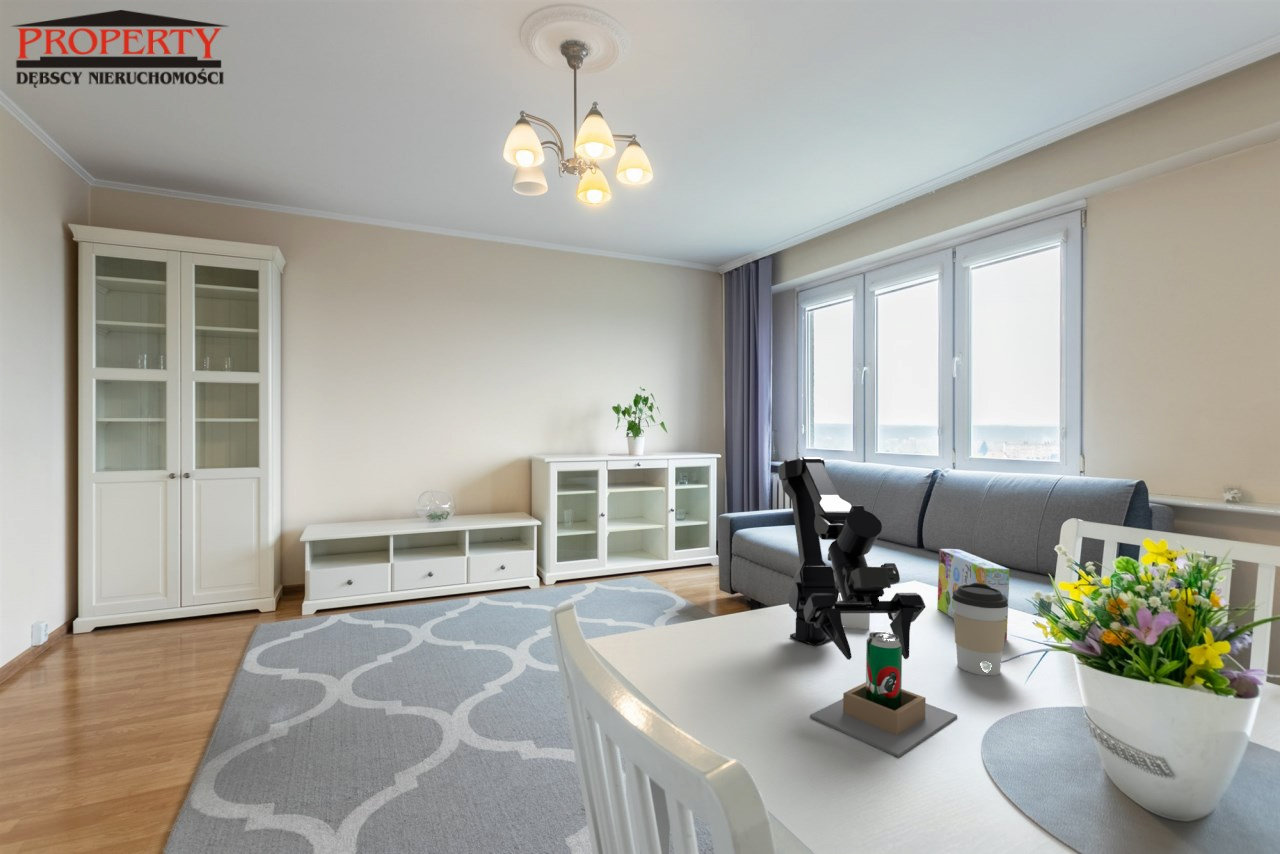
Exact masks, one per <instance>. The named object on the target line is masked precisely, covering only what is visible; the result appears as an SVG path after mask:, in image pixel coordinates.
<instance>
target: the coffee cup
mask: <svg viewBox="0 0 1280 854" xmlns="http://www.w3.org/2000/svg"><path fill="white" fill-rule="evenodd" d="M952 599H953V600H954V610H953V614H954V619H953V627H954V641H955V646H956V648H955V649H956V661H957V667H958V668H959V669H961V670H964V671H965V672H968V673H970V674H975V675H980V676H987V675H993V676H997V675H1000V673H1001V667H1002V655H1003V654H1002V653H1003V652H1004V648H1005V639H1004V638H1005V628H1006V607H1007V606H1008V607H1009V598H1008V599H1007V598H1006V597H1005V596H1003V595H1002V594H1001V592H1000V591H999V590H997V589H994V588H991V587H990V586H988V585H986V584H980V583H973V584H970V585H961V586H959V588H958V590H955V591H953V596H952ZM1007 601H1008V603H1007ZM982 661H987V662H989V663H991V664H992V667H991V670H990V671H989V672H988V673H986V672H984V671H983V670H982V668H981V666H980V663H981V662H982ZM1000 662H1001V664H1000Z"/></svg>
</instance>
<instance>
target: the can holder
mask: <svg viewBox="0 0 1280 854" xmlns="http://www.w3.org/2000/svg"><path fill="white" fill-rule="evenodd" d="M842 695H843V698H841V699H839V700H837V701H835V702H833V703H831V704H829V705H826V706H825V707H822V708H821V709H819V710H817V711H814V712H813V713H811V714H810V715H809V718H811V719H812V720H815V721H817V722H820V723H821V724H823V725H826V726H828V727H830V728H832V729H835V730H836V731H837V730H838V731H839V732H840V733H844V734H846V735H848V736H850V737H852V738H855V739H857V740H858V741H861V742H863V743H865V744H868V745H870V746H872V747H875V748H876V749H879V750H881V751H883V752H886V753H888V754H890V755H891V756H894V757H896V758H901V756H903V755H904V754H906V753H908V752H909V751H910V750H912V749H913V748H915V747H916V746H918V745H919V744H920V743H922V742H923V741H925V740H927V739H928V738H930V737H931V736H932V735H934V734H935V733H936V732H938V731H940V730H941V729H942V728H944V727H946V726H947V725H948V724H950V723H951V722H953V721H955V720H956V719H957V718H958V714H957V713H953V712H951V711H947V710H944V709H942V708H940V707H936V706H934V705H931V704H929V703H926V701H927V700H926V696H925V697H924V696H922V695H919V694H916V693H914V692H911V691H909V690H906V689H903V688H902V692H901V707H900V708H898V709H897V710H895V711H894V710H892V709H889V708H887V707H884V706H881V705H879V704H876V703H874V702H871V701H869V700H866V681H865V682H863V683H862V684H859V685H856V686H855V687H853V688H851V689H849V690H847V691H845V692H843V694H842Z"/></svg>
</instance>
